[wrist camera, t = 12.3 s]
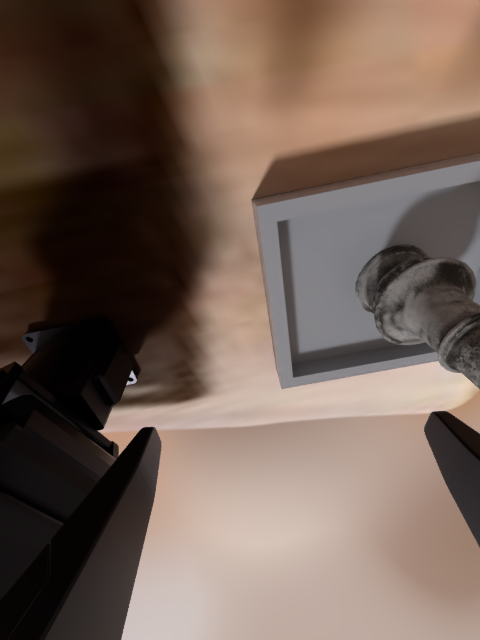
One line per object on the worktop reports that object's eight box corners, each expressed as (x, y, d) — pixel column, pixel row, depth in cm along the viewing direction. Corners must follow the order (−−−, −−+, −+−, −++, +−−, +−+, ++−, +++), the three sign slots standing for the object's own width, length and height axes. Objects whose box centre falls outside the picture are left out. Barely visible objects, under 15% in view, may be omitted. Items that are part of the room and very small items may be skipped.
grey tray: (276, 368, 24) (281, 389, 22) (251, 199, 17) (256, 206, 15) (458, 334, 23) (482, 352, 21) (516, 145, 16) (562, 143, 14)
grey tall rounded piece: (353, 326, 21) (482, 489, 11) (347, 255, 18) (519, 390, 8) (431, 304, 20) (644, 455, 10) (438, 227, 17) (754, 333, 7)
